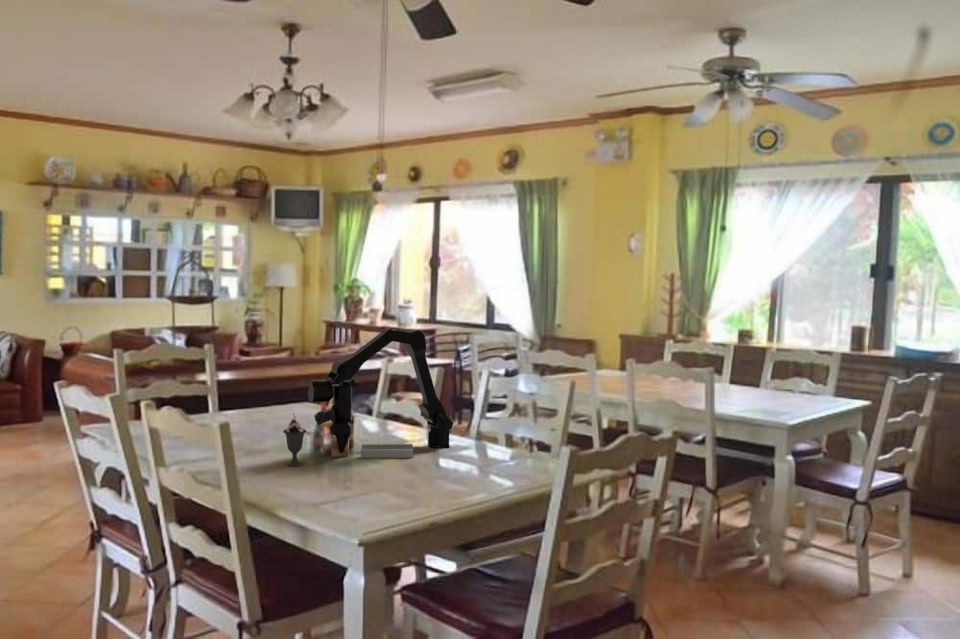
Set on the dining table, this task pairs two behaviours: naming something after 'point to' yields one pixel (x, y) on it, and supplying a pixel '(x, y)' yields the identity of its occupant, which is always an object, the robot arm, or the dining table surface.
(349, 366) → the robot arm
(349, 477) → the dining table surface
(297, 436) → the sundae
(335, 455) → the block
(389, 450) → the channel
